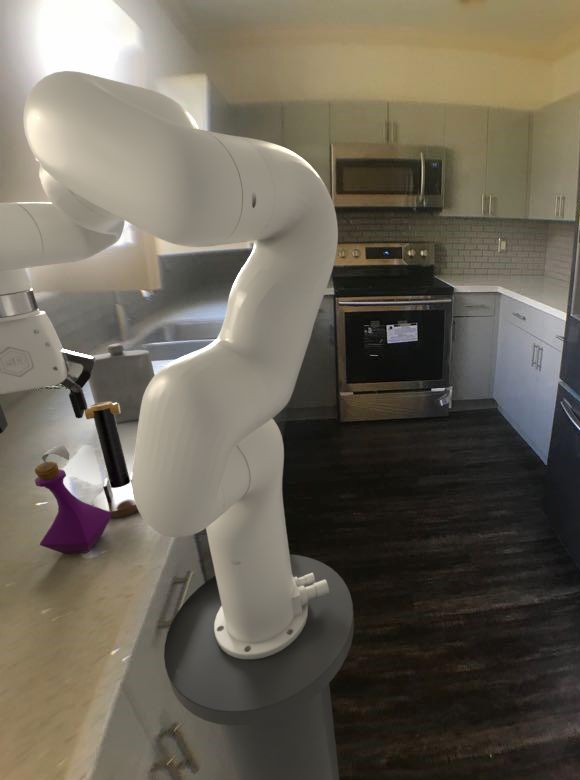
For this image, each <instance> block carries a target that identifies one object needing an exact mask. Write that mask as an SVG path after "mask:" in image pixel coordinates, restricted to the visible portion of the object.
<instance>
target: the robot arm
mask: <svg viewBox="0 0 580 780" xmlns="http://www.w3.org/2000/svg"><path fill="white" fill-rule="evenodd" d="M22 117H23V119H22V123H23V124H22V125H23V129H24V130H23V131H24V135H25V138H26V141H27V145H28V147H29V149H30V151H31V152H32V154H33V156H34V159H35V160H36V161H37V162H38V163H39V171H38V172H39V173H38V174H39V180H40V183H41V187H42V189H43V191H44V193H45V195H46V197H47V198H48V200H49V201H47V202H46V201H37V202H35V201H31V202H27V201H25V202H23V201H22V202H21V201H20V202H13V201H12V202H0V395H5V394H13V393H18V392H24V391H30V390H35V389H36V390H37V389H42V388H47V387H54V386H56V385H61V386H63V387H64V388H66V389H67V390H69V394H68V397H69V401H70V403H71V407H72V410H73V413H74V417H75V419H82V418H83V417H84V415H85V410H87V408H88V404H87V400H86V397H85V394H84V390H83V387H84V386H85V385H86V384H87V382H89V381H88V380H89V379H90V377H91V374H92V371H93V368H94V364H95V361H96V359H95V358H94V357H92V356H93V355H88V354H84V353H79V352H75V351H71V350H68V349H64V347H63V345H62V342H61V340H60V338H59V336H58V334H57V331H56V329H55V327H54V325H53V323H52V321H51V319H50V318H49V316H48V314H47V313H46V311H44V310H40V309H39V306H38V303H37V299H36V297H35V293H34V290H33V288H32V284H31V281H30V278H29V275H28V274H29V273H28V271H27V269H30V268H34V267H43V266H50V265H51V266H52V265H59V264H67V263H68V264H69V263H76V262H81V261H84V260H86V259H89V258H91V257H93V256H95V255H97V254H99V253H101V252H103V251H105V250H106V249H108V248H110V247H112V246H114V245H115V244H116V243H117V242H119V240H120V239H121V237H122V234H123V231H124V227H125V222H126V223H129V224H131V225H132V226H134V227H136V228H138V229H140V230H142V231H143V232H145V233H147V234H148V235H151V236H153V237H155V238H157V239H159V240H162V241H165V242H167V243H169V244H173V245H177V246H181V247H188V248H208V247H209V248H211V247H215V246H217V247H218V246H224V245H231V244H240V243H246V242H252V241H253V248H252V250H251V253H250V255H249V257H248V258H247V260H246V262H245V263H244V265H243V266H242V267H241V269H240V271H239V272H238V274H237V276H236V278H235V280H234V282H233V284H232V286H231V289H230V292H229V295H228V299H227V306H226V310H225V311H226V312H225V316H224V319H223V323H222V325H221V329H220V331H219V333H218V335H217V338H216V339H215V340H214V341H212V342H211V343H209V344H208V345H207V346H205V347H203V348H200V349H198V350H195V351H192V352H190V353H188V354H185V355H182V356H181V357H178V358H176V359H174V360H172V361H170V362H168V363H167V364H166V365H164V366H163V367H161V369H159V370H158V371H157V372H156V373H155V374H154V375H155V376H154V377H153V378H152V380H151V381H150V383H149V385H148V386H147V388H146V390H145V393H144V395H143V399H142V403H141V409H140V416H139V420H138V424H137V432H136V440H135V447H134V454H133V461H132V470H131V471H132V490H133V496H134V500H135V503H136V506H137V509H138V511H137V512H138V513H139V515H140V516H141V518H142V519H143V521H144V522H145V523H146V524H147V525H148V526H149V527H150V528H151V529H153V531H155V532H157V533H159V534H160V535H163V536H166V537H171V538H186V537H190V536H194V535H197V534H199V533H200V532H202V531H204V530H205V531H206V536H207V542H208V546H209V551H210V556H211V560H212V565H213V570H214V571H213V572H214V576H215V575H216V580H217V585H218V590H219V594H220V599H221V604H222V606H221V607H220V609H219V611H218V613H217V615H216V619H215V622H214V632H215V637H216V640H217V643H218V645H219V646H220V647H221V649H222V650H223V651H224V652H226V653H227V654H228V655H231V656H233V657H235V658H240V659H259V658H264V657H267V656H270V655H273V654H275V653H277V652H279V651H281V650H283V649H284V648H285V647H287V646H288V645H290V644H291V643H292V642H293V641H294V640H295V639H296V638H297V637H298V635H299V634H300V633H301V631H302V630H303V628H304V626H305V624H306V620H307V617H308V606H307V604H308V600H310V599H312V598H315V597H320V596H322V595H325V594H328V593H329V588H328V584H327V581H326V580H322V581H319V582H317V583H314V584H313V585H311V586H308V587H304V585H308V584H311V583H313V582H315V578H314V575H313V573H310V574H307V575H305V576H303V577H300V578H298V579H297V577H294V578H293V575H292V570H291V562H290V555H291V554H290V548H289V540H288V533H287V525H286V516H285V507H284V497H283V496H284V495H283V477H284V464H285V463H284V461H285V447H284V440H283V435H282V433H281V430H280V428H279V426H278V424H277V423H276V421H275V419H274V418H275V417H276V416H277V415H279V413H280V412H282V410H283V409H285V407H286V406H287V405H288V403H289V402H290V401H291V398H292V395H293V393H294V390H295V387H296V384H297V380H298V377H299V373H300V371H301V368H302V365H303V362H304V358H305V355H306V352H307V350H308V346H309V343H310V340H311V337H312V333H313V329H314V326H315V322H316V319H317V316H318V313H319V311H320V307H321V305H322V302H323V299H324V297H325V294H326V290H327V288H328V285H329V282H330V279H331V276H332V272H333V269H334V267H335V266H334V265H335V261H336V256H337V251H338V241H339V228H338V217H337V213H336V209H335V206H334V205H335V204H334V202H333V200H332V199H333V198H332V197H331V194H330V192H329V190H328V188H327V185H325V182H324V181H323V179H322V178H321V176H320V175H319V173H318V172H317V171H316V170H315V169H314V168H313V166H312V165H311V164H310V163H309V162H307V160H305V159H304V158H303V157H301V156H300V155H298V154H297V153H296V152H294V151H292V150H291V149H288V148H286V147H285V146H282V145H279V144H276V143H273V142H269V141H265V140H262V139H256V138H251V137H245V136H238V135H231V134H225V133H220V132H215V131H210V130H204V129H200V127H199V125H198V123H197V122H196V120H195V119H194V117H193V116H192V115H191V113H189V111H188V110H187V109H185V107H183V106H182V105H181V104H180V103H179V102H177V101H175V100H174V99H173V98H171V97H169V96H166V95H165V94H163V93H160V92H159V91H158V92H157V91H155V90H153V89H149V88H145V87H142V86H139V85H133V84H129V83H125V82H121V81H118V80H114V79H109V78H105V77H101V76H97V75H94V74H90V73H85V72H81V71H73V70H63V71H62V70H61V71H56V72H53V73H51V74H48V75H46V76H44V77H43V78H42V79H40V80H39V81H37V82H36V83H35V84H34V86H33V87H32V88H31V89H30V91H29V93H28V95H27V97H26V99H25V103H24V107H23V115H22ZM69 362H70V363H74V364H78V365H81V366H82V371H81V373H80V374H79V375H78V376H76V375H74V374H72V373H70V364H69ZM8 425H9V423H8V421H7V418H6V415H5V412H4V410H3V407H2V405H1V403H0V434H3V433H4V432H5V430H6V429H7V428H8Z"/></svg>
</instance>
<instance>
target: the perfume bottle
mask: <svg viewBox="0 0 580 780" xmlns="http://www.w3.org/2000/svg"><path fill="white" fill-rule="evenodd" d="M49 455H57V456H59V457H61V458H64V459H65V460H67V461H69V460H70V453H69V451H68V448H67V447H66V446H65V445H63V444H58V445H57V444H56V445H55V446H54V447H51V448H50V449H48V450H47V451H46V452H45V453H44V454H43V455H42V456H41V459H42V461H43V462H42V463H40V464H39V465H37V466H36V467H35V468H34V473H35V474H36V476H37V477H36V478H35V479H34V483H35V486H37V487H40V488H45V489H47V490H49V491H50V492H51V494H52V495H53V497H54V498H55V500H56V504H57V506H58V508H57V509H58V511H57V514H56V515H55V518H54V520H53V521H52V524H51V525H50V526H49V528H48V529H47V532H46V533H45V534H44V536H43V538H42V539H41V540H40V543H39V546H41V547H44V548H47V549H50V550H51V551H55V552H59V553H62V554H77V553H78V554H79V553H89V552H90V551H91V550H92V548H93V547H94V546H95V545H96V543H97V542H98V541H99V540H100V539H101V537H102V536H103V534H104V532H105V530H106V528H107V526H108V524H109V521H110V520H111V519H112V518H111V516H112V512H109V511H106V510H103V509H100V508H98V507H95V506H93V504H89V503H87V502H84V501H82V500H80V499H79V498H77V497H76V496H74V494H73V493H71V491H70V490H69V489H68V488H67V487H66V485H65V484H64V479H65V478H66V477H67V473H66V471H65V470H64V469H60V468H59V465H58V463H57V462H55V461H47V458H48V457H49Z"/></svg>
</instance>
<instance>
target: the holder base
mask: <svg viewBox="0 0 580 780" xmlns="http://www.w3.org/2000/svg"><path fill="white" fill-rule="evenodd" d="M102 488H103V490H102V491H101V492H100V493H98V494H97V495H96V497H95V498H94V499H93V501H92V506H95V507H98V508H100V509H103V510H106V511H109V512H112V516H111V518H110V519H119V518H123V517H127V516H130V515H133V514H135V513H137V512H139V511H138V509H137V506H136V503H135V500H134V496H133V490H132V472H130V483H129V484H127V485H125V486H122V487H118V488H111V486H110V482H109V478H108V477H105V478H104V479H103V485H102Z"/></svg>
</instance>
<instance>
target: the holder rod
mask: <svg viewBox="0 0 580 780" xmlns="http://www.w3.org/2000/svg"><path fill="white" fill-rule="evenodd" d="M115 414H120V406H119V403H113V404H112V402H102V403H97V404H95V403H94V404H91V405H90V406H89V407H87V410H84V416H85V419H86V420H91V419H93V421H94V424H95V428H96V432H97V436H98V441H99V445H100V447H101V448H100V449H101V453H102V456H103V461H104V464H105V469H106V473H107V478H108V480H109V483H110V486H111V488H118V487H122V486H125V485H127V484H129V483H130V479H131V477H130V474H129V469H128V466H127V461H126V459H125V457H126V456H125V454H124V453H125V452H124V449H123V445H122V441H121V436H120V432H119V428H118V423H116V419H115Z"/></svg>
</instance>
